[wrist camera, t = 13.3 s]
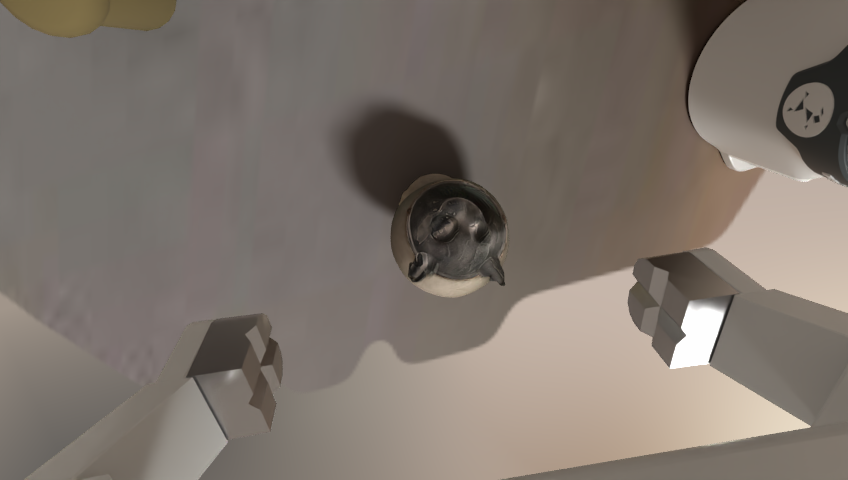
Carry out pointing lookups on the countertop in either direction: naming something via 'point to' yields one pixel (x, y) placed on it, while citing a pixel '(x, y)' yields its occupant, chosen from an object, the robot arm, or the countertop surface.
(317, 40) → the countertop surface
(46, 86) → the countertop surface
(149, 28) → the cork
